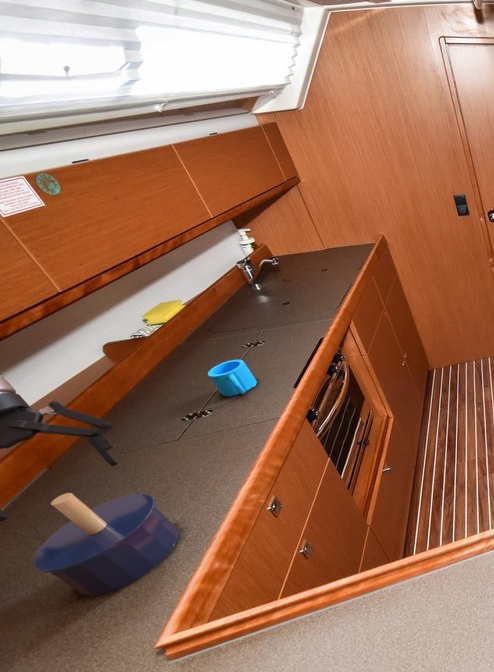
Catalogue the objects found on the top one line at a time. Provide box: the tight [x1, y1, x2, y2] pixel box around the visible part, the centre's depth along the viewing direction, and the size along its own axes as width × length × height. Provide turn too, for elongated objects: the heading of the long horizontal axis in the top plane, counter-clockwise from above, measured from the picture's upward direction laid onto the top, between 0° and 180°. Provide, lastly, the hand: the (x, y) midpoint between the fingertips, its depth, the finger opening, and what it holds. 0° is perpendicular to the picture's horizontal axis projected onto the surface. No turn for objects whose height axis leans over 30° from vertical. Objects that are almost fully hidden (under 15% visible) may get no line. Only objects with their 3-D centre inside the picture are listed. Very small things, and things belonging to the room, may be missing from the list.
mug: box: [207, 359, 258, 397], centre depth 122 cm, size 12×8×8 cm
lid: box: [33, 492, 156, 573], centre depth 74 cm, size 15×15×10 cm
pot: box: [50, 506, 180, 597], centre depth 78 cm, size 14×14×10 cm
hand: (61, 489), depth 77 cm, fingers open, 13 cm apart
